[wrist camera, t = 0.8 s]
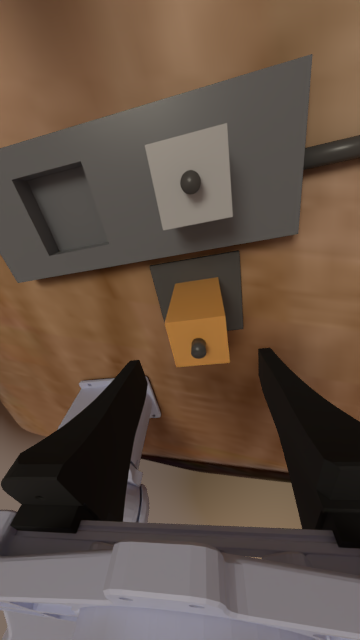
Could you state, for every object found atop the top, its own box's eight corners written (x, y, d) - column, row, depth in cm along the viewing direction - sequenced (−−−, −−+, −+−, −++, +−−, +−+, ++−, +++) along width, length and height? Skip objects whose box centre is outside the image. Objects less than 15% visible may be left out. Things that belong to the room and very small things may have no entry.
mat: (168, 335, 24) (168, 337, 24) (150, 265, 20) (149, 266, 20) (242, 327, 23) (243, 328, 22) (238, 250, 19) (239, 251, 18)
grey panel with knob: (32, 275, 22) (-32, 308, 16) (-29, 167, 17) (-151, 155, 11) (402, 209, 16) (520, 221, 10) (456, 25, 12) (723, -145, 6)
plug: (182, 319, 22) (175, 376, 16) (175, 283, 20) (162, 331, 14) (222, 314, 22) (231, 372, 15) (217, 277, 20) (226, 324, 13)
